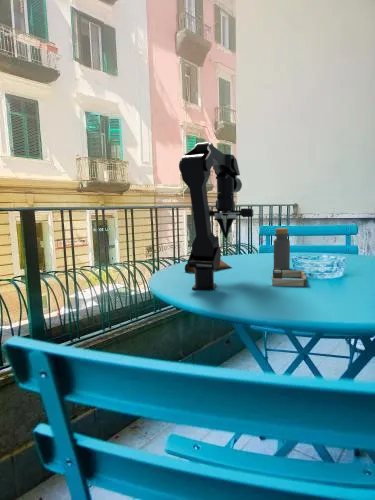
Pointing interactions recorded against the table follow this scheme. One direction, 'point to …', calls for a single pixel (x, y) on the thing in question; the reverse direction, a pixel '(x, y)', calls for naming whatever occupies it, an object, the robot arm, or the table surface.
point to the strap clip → (277, 274)
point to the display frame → (290, 281)
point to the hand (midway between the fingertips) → (226, 237)
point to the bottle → (281, 249)
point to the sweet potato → (222, 266)
